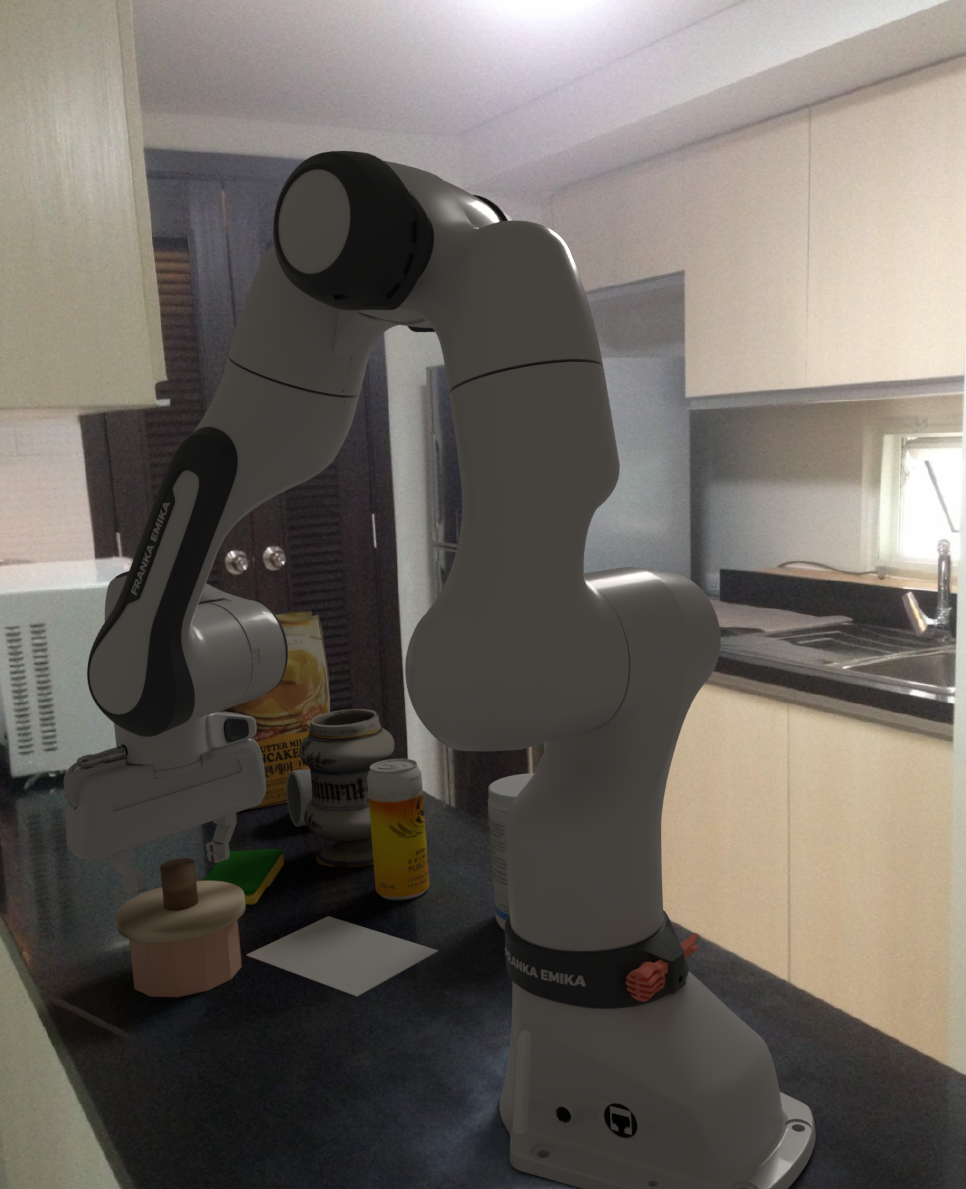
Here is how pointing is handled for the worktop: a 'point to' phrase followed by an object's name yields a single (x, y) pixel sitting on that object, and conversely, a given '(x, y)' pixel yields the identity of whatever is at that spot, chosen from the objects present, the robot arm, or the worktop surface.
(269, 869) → the dish sponge
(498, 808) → the supplement tub
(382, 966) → the mat
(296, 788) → the ceramic mug
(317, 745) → the apothecary jar
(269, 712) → the pancake mix bag
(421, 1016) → the worktop surface
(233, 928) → the bowl
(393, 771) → the beer can
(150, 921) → the lid
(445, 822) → the worktop surface
